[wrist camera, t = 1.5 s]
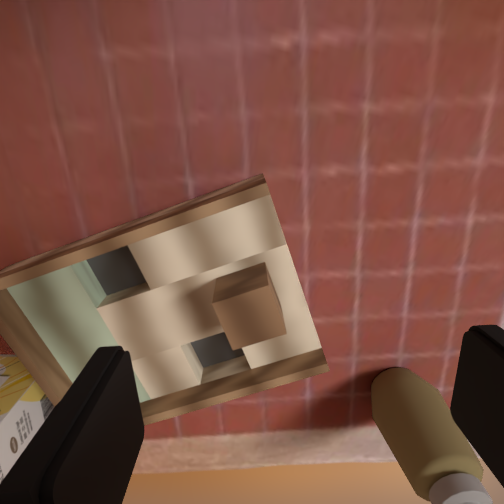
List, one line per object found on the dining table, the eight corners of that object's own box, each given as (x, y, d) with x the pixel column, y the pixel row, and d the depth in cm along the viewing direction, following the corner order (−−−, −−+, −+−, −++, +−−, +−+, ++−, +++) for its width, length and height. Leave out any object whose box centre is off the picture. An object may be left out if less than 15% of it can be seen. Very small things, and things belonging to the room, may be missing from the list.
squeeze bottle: (368, 416, 43) (448, 603, 26) (354, 369, 40) (434, 544, 23) (430, 400, 42) (553, 581, 25) (420, 350, 39) (552, 517, 23)
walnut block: (265, 261, 32) (268, 285, 27) (280, 304, 33) (286, 333, 29) (216, 278, 32) (211, 303, 28) (234, 319, 34) (232, 350, 29)
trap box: (262, 173, 32) (266, 182, 27) (318, 338, 38) (329, 371, 33) (8, 265, 34) (-33, 290, 29) (102, 404, 41) (82, 443, 36)
